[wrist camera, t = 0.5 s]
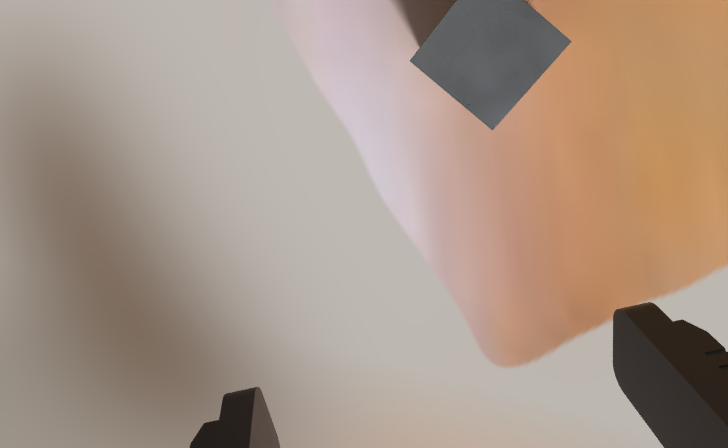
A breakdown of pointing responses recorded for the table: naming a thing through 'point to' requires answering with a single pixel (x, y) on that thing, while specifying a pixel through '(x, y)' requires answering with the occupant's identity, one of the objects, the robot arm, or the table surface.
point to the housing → (489, 54)
